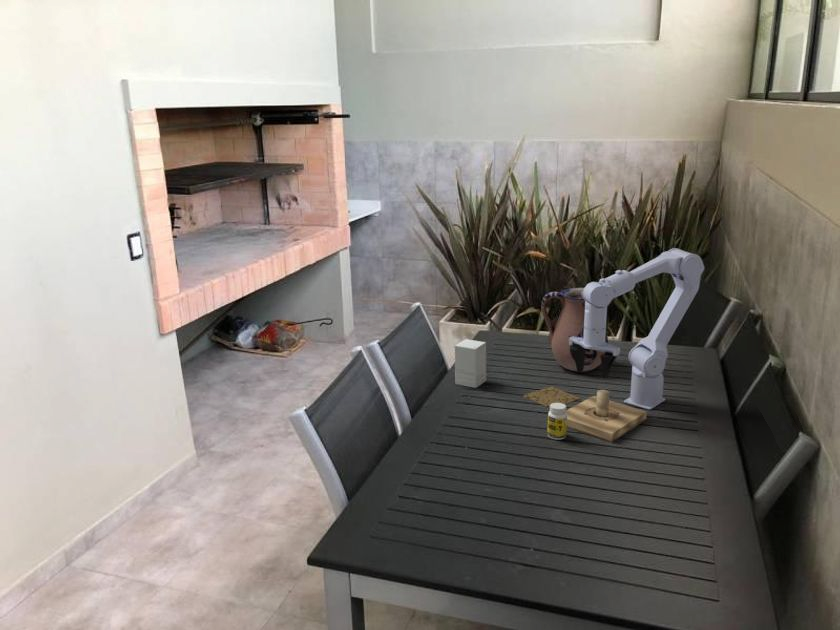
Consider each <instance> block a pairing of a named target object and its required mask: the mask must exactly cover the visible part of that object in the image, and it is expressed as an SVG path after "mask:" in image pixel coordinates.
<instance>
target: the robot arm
mask: <svg viewBox="0 0 840 630" xmlns="http://www.w3.org/2000/svg"><path fill="white" fill-rule="evenodd" d="M704 271H705V265H704V261H703V260H702V258H701V256H699V255H698V254H696V253H692V252H688V251H685V250H682V249H680V248H678V247H677V248H676V247H673V248H671V249H669V250H668V251H667V250H666V251H663V252H661V253H660V254H659V255H657V257H654V258H653V259H652V260H651V259H650V260H649V261H648V262H646V263H644V264H642V265H640V266H637V267H636V268H634V269H632V270H631V271H628V270H625V269H623V270H620V269H617V270H616V271H614V272H615V273H614V274H612V275H610V276H608V277H605V278H603V277H602V278H600V279H599V281H598V282H597V281H591V282H589V283H587V284H586V286H585V287H583V288H584V290H583V292H582V297H583V299H584V300H585V317H584V338H580V337H574V336H573V337H570V338H569V345H572V347H571V348H570V352H571V353H572V355H573V357H574V360H575V363H576V367H577V371H576V372H577V373H581V371H583V369H584V358H585V352H586V349H593V350H597V351H601V352H605V354H603V355H601V356H600V358H601V362H602V363H601V379H602V380H605V379H607V378H609V374H610V370H611V368H612V366H613V364H614V362H615V361H616V359H617V357H618V356H619V355H620V354H621V347H618V346H615V345H614V344H612V343H609V342H608V343H607V342H605V334H606V330H607V315H608V314H607V313H608V306H609V305H610V304H611V302H612V300H613V299H615V298H618V297H619V296H621V295H623V294H626V293H628V292H631V291H633V290H634V288H635V287H636V284H637V283H640V282H642V281H645V280H647V279H650V278H652V277H654V276H658V275H660V274H662V273H665V274H666V273H667V274H670V275H671V277H672V279H673V281H674V285H675V287H674V289H673V291H672V293H671V294H670V296H669V298H668V300H667V302H666V304H665V305H664V307H663V309H662V311H661V312H660V314H659V316H658V318H657V320H656V321H655V323H654V325H653V326H652V329H650V332H649V333H648V336H646V337H644V338H641V339H640V340H639V341H638V343H637V344H636V345H635V346H633V347H632V348H631V350H630V351H629V353H628V361H629V363H630V365H632V366H631V382H630V395H629V397H628V398H626V399H624V400H623V403H625V404H628V405H631V406H634V407H638V408H642V409H644V410H645V409H646V410H648V411H650V410H652V409H653V408H655V407H656V406H659V405H660V404H661V403H663V402H665V401H666V398H665V397H663V393H664V392H663V391H664V381H665V380H664V375H663V372H664V370H665V368H666V362H667V358H668V356H669V354H668V353H669V352H668V348H667V346H668V345H669V342H670V340H671V339H672V337H673V335H674V333H675V332H676V329H678V326H679V324H680V323H681V321H682V319H683V317H684V315H685V314H686V312H687V310H688V309H689V307H690V306H691V303H692V302H693V300H694V298H695V296H696V295H697V293H698V291H699V289H700V283H701V277H702V275H703V272H704Z"/></svg>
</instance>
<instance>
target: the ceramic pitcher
mask: <svg viewBox="0 0 840 630" xmlns="http://www.w3.org/2000/svg"><path fill="white" fill-rule="evenodd" d="M584 288H585V287H576V288H574V287H573V288H567V289H564V290H562V291H551V292H548V293H546V294H544V296H543V297H542V300H541V313H542V315H543V319H544V322H545V325H546V326H547V329H548V332H549V333H548V341H549V344H550V346H551V350H552V355H553V357H554V359H555V360H556V362H557V363H558V364H559V365H560V366H562V367H563V368H564V369H566V370H568V371H572V372H577V367H576V363H575V360H574V357H573V355H572V353H571V352H570V348H571V347H572V345H569V338H570V337H573V336H574V337H580V338H584V317H585V300H584V299H583V297H582V292H583V290H584ZM554 298H555V299H556V298H557V299H558V300H560V302H561V305H562V308H561V311H560V313H559V316H558V318H557V320H556V322H555V323H554V324H552V321H551V319H550V317H549V315H548V312H547V303H548V302H549V300H550V299H554ZM605 342H607V343H609V337H608V330H607V329H606V334H605ZM603 354H605V352H601V351H597V350H593V349H586V352H585V358H584V369H583V371H581V372H582V373H583V372H589V371H593V370H594V369H596V368H598V367H599V366H600V365H602V362H601V358H600V356H601V355H603ZM581 372H580V373H581Z"/></svg>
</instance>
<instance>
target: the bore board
mask: <svg viewBox="0 0 840 630" xmlns="http://www.w3.org/2000/svg"><path fill="white" fill-rule="evenodd" d="M596 403H597V395H593V396H590V397H588V398H587V399H585V400H583V401H581V402H579V403H577V404H576V405H574V406H572V407H569V408H568V409H566V413H567V429H570V430H573V431H576V432H579V433H582V434H585V435H587V436H591V437H594V438H597V439H599V440H602V441H606V442H609V443H614V442H615V441H616V440H617V439H619V438H620V437H622V436H624V435H625V434H628V432H630V431H631V430H632V429H635V428H636V427H638V426H639V425H640V424H642V423H643V422H645V421H647V414H648V413H647V411H646V410H643V409H640V408H636V407H633V406H629V405H626V404H623V403H619V402H616V401H613V400H610V399H609V412H608V417H598V416H596Z"/></svg>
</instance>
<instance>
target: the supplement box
mask: <svg viewBox="0 0 840 630" xmlns="http://www.w3.org/2000/svg"><path fill="white" fill-rule="evenodd" d="M454 376H455V377H454V383H455V385H457V386H463V387H468V388H472V389H473V388H474V389H476V388H478V387H480V386H481V385H482V384H484V383H485V382H486V381H487V342H486V341H479V340H475V339H474V340H473V339H468V338H465V339H463V340H461V341H460V342H458V343H457V344H455V345H454Z"/></svg>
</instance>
